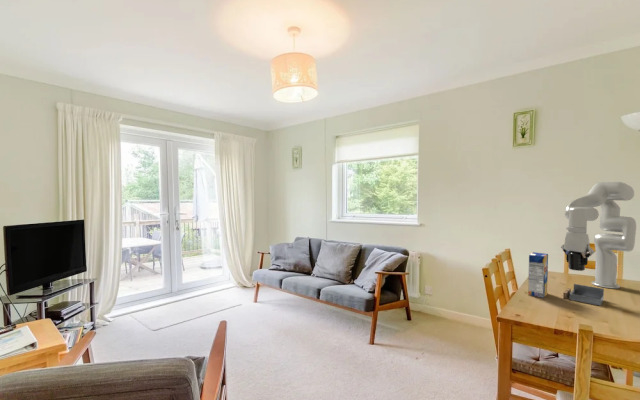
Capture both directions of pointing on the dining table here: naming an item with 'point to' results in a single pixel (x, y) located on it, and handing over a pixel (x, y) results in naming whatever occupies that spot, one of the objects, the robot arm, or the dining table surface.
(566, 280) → the dining table surface
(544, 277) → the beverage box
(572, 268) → the supplement bottle
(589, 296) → the keeper
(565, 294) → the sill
